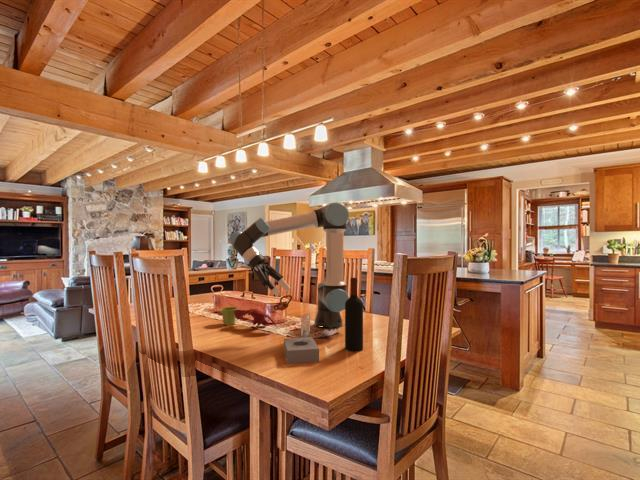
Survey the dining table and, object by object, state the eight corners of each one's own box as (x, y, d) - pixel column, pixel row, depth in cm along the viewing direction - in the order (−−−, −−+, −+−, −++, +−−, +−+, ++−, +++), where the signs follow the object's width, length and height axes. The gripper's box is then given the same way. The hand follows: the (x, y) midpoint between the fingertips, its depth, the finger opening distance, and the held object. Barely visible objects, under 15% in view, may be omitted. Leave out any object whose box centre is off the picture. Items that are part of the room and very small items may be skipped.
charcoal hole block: (312, 348, 147) (312, 337, 147) (319, 362, 131) (319, 348, 131) (283, 350, 144) (283, 338, 144) (287, 364, 129) (287, 350, 129)
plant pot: (218, 326, 185) (218, 310, 185) (222, 322, 194) (223, 306, 194) (235, 326, 185) (235, 310, 185) (239, 322, 194) (239, 306, 194)
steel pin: (309, 341, 158) (309, 315, 158) (310, 344, 154) (310, 316, 154) (300, 341, 157) (300, 315, 157) (301, 344, 153) (301, 317, 153)
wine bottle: (341, 348, 147) (341, 278, 147) (352, 344, 152) (352, 276, 152) (355, 352, 142) (355, 279, 142) (366, 348, 147) (366, 277, 147)
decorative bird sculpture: (240, 331, 190) (225, 315, 182) (249, 318, 196) (235, 301, 187) (279, 340, 174) (265, 322, 165) (288, 325, 179) (274, 307, 171)
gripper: (260, 262, 176) (287, 293, 172) (236, 265, 152) (267, 302, 148) (269, 252, 175) (297, 283, 171) (247, 254, 151) (279, 290, 147)
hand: (283, 292), depth 160 cm, fingers open, 13 cm apart
